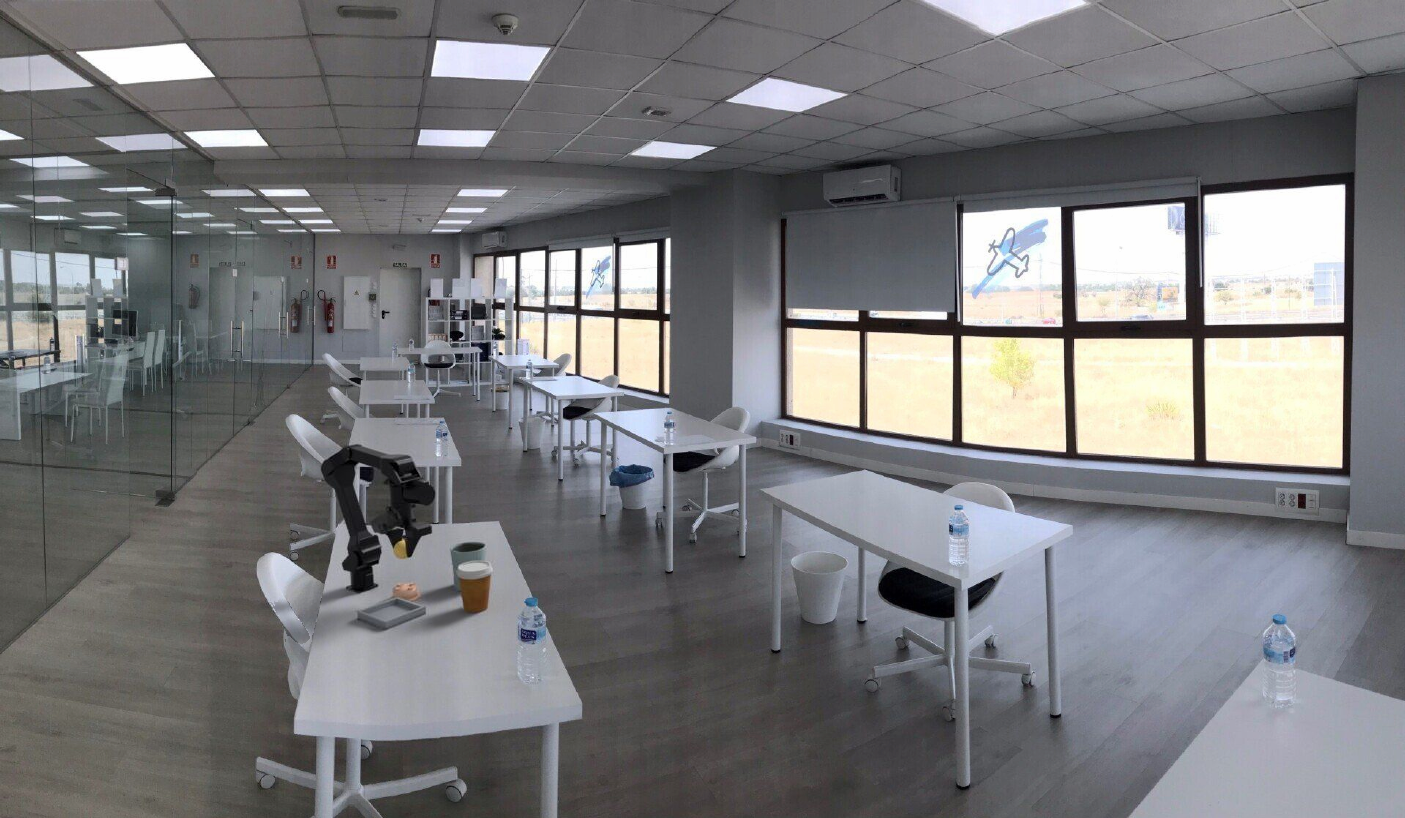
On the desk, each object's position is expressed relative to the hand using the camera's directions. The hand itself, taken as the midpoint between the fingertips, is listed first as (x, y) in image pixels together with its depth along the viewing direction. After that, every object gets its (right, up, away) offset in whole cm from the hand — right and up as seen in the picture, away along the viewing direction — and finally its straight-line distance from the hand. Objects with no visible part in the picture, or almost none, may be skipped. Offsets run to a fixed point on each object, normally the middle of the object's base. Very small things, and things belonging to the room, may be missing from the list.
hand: (403, 555), depth 207 cm
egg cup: (0, -12, +2) cm, 13 cm away
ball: (0, -1, 0) cm, 1 cm away
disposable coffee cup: (+22, -14, -4) cm, 26 cm away
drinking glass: (+15, -11, +12) cm, 22 cm away
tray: (+1, -14, -11) cm, 18 cm away
